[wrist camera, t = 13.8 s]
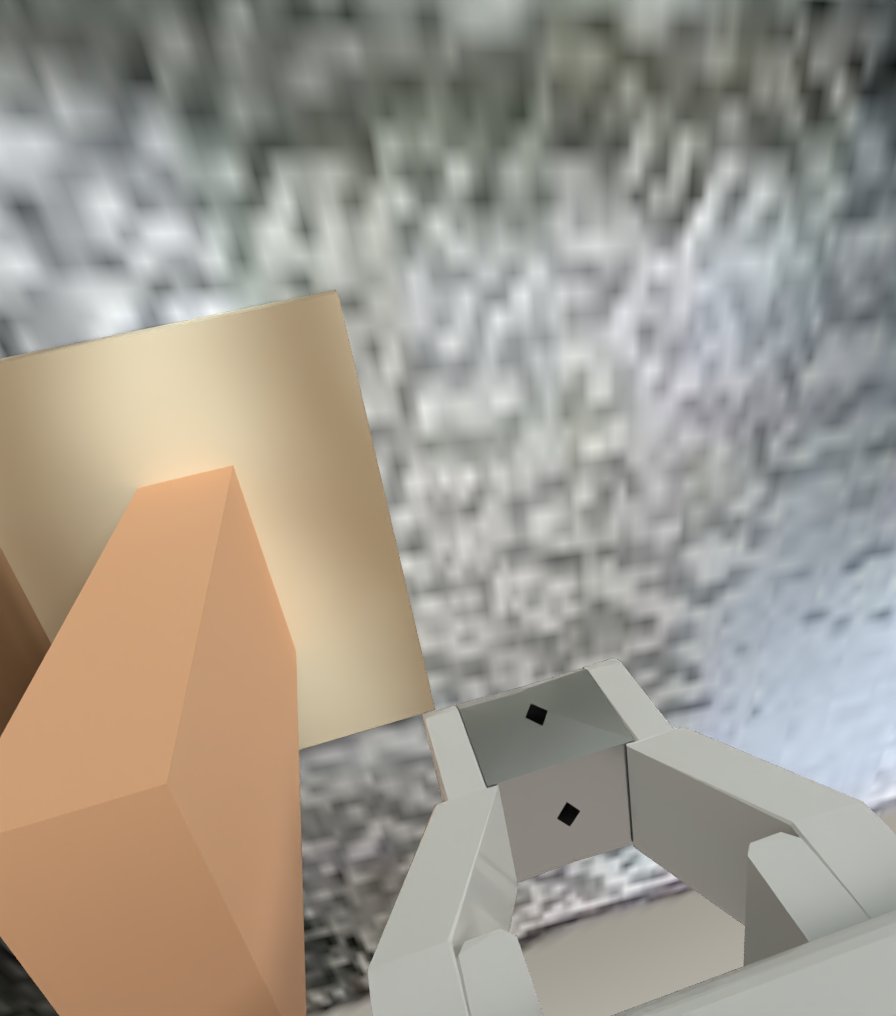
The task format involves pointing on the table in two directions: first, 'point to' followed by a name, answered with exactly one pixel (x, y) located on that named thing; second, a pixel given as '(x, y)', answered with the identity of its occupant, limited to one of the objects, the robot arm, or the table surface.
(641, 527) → the table surface
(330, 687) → the birch board
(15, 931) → the domino
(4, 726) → the domino
